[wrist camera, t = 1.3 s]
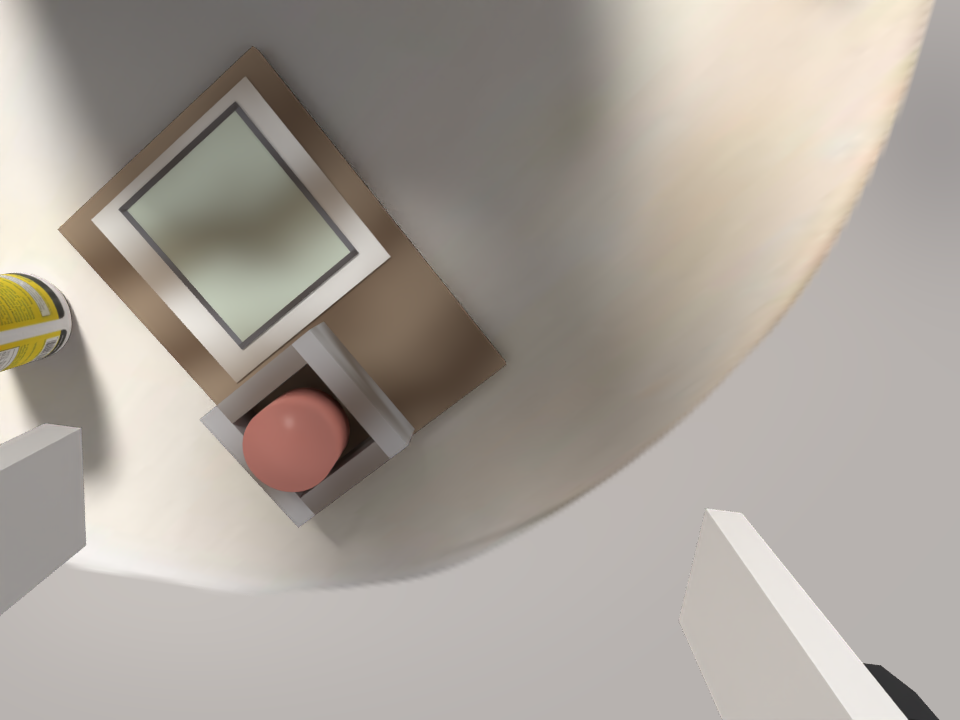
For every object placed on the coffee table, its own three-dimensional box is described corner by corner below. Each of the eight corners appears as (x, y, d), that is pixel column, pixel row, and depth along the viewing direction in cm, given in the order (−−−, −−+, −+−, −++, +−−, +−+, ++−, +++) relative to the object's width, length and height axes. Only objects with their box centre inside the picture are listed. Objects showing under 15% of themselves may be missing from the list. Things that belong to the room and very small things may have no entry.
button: (249, 420, 32) (223, 441, 29) (311, 370, 31) (291, 386, 28) (304, 482, 32) (285, 509, 29) (367, 435, 32) (353, 457, 29)
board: (66, 229, 32) (20, 230, 29) (258, 49, 30) (230, 29, 27) (315, 504, 35) (298, 532, 32) (505, 361, 33) (506, 376, 30)
